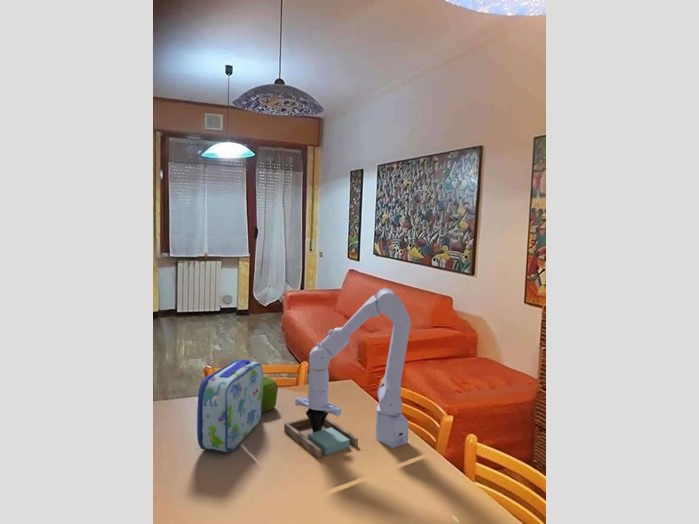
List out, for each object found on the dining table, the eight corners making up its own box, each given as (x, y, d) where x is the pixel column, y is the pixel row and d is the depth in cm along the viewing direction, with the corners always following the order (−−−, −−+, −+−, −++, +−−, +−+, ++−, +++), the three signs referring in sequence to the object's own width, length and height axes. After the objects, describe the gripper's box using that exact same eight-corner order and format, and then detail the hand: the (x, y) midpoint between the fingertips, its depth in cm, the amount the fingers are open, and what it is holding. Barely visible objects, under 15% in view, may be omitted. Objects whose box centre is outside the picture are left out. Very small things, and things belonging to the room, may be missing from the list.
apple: (236, 412, 152) (237, 380, 151) (253, 400, 162) (253, 370, 161) (268, 418, 149) (268, 385, 148) (282, 405, 159) (283, 374, 158)
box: (357, 448, 131) (358, 438, 131) (318, 461, 123) (318, 450, 123) (321, 423, 146) (321, 413, 146) (284, 433, 139) (284, 423, 138)
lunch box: (234, 415, 150) (235, 351, 148) (266, 419, 148) (267, 354, 146) (191, 455, 124) (191, 378, 122) (228, 460, 122) (229, 383, 120)
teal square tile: (349, 447, 130) (349, 439, 130) (325, 455, 125) (325, 447, 125) (331, 434, 137) (331, 427, 137) (307, 441, 132) (307, 434, 132)
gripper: (347, 389, 135) (345, 434, 136) (305, 379, 142) (304, 422, 143) (334, 397, 129) (333, 444, 130) (291, 386, 135) (290, 431, 137)
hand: (317, 433), depth 136 cm, fingers closed
